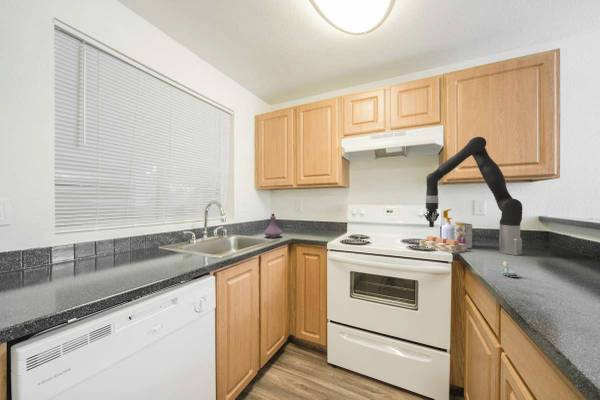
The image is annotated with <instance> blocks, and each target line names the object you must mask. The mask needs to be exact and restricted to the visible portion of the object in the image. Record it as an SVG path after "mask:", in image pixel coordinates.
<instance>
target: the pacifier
mask: <svg viewBox="0 0 600 400" xmlns="http://www.w3.org/2000/svg"><path fill="white" fill-rule="evenodd" d="M502 265H503V267H502V268H500V272H501V274H503V276H505V275H507V276H510V277H509V278H512V277H519V278H520V275H519V274H517V273H516V272H515V271H513V270H512V269H510V266H509V265H508V262H507V261H503V262H502ZM515 275H516V276H515ZM507 276H506V277H507Z"/></svg>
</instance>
